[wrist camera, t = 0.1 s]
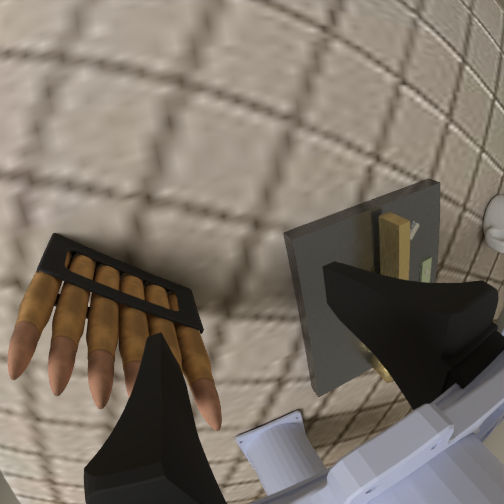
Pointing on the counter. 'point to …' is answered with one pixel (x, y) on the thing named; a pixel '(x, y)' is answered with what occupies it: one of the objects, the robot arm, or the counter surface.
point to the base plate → (361, 256)
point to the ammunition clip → (109, 323)
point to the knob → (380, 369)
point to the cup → (495, 224)
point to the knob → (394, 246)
